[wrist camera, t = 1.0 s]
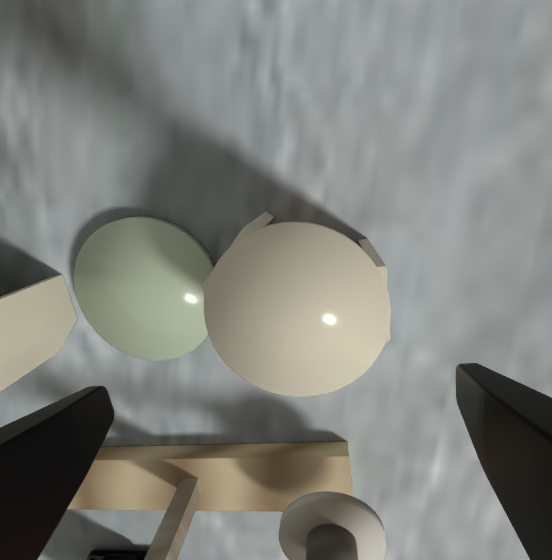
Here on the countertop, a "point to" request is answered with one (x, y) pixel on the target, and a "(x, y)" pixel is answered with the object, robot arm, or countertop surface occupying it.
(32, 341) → the cover
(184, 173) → the countertop surface
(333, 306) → the cover
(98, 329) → the dish
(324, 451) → the balance
